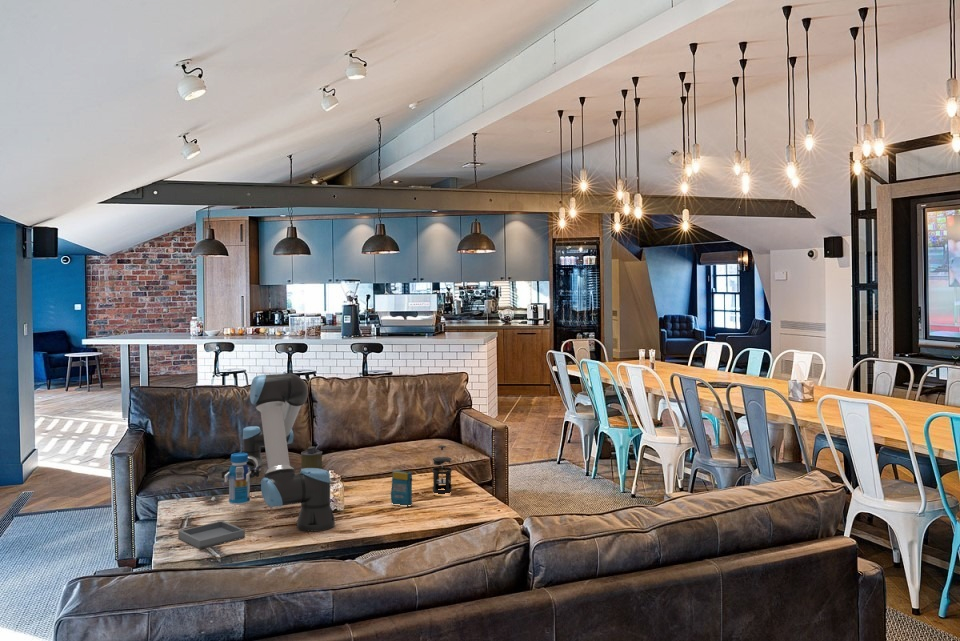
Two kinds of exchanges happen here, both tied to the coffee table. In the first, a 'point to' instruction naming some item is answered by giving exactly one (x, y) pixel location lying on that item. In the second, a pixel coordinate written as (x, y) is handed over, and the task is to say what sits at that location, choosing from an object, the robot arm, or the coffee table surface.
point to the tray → (211, 534)
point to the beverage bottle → (239, 479)
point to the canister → (311, 458)
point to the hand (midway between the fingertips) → (236, 478)
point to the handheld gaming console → (401, 488)
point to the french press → (436, 475)
